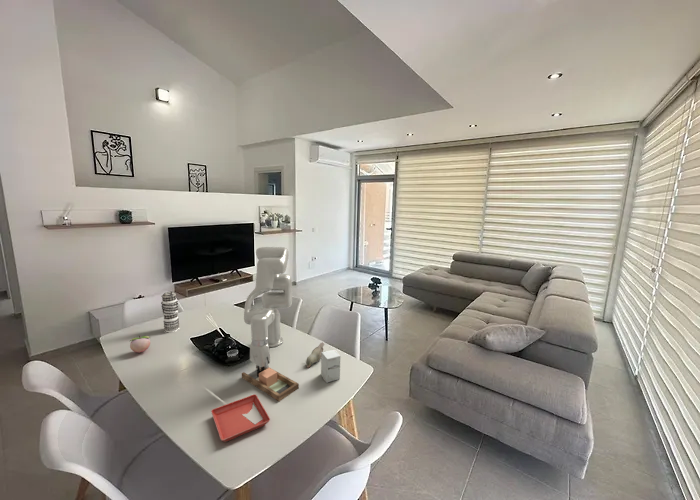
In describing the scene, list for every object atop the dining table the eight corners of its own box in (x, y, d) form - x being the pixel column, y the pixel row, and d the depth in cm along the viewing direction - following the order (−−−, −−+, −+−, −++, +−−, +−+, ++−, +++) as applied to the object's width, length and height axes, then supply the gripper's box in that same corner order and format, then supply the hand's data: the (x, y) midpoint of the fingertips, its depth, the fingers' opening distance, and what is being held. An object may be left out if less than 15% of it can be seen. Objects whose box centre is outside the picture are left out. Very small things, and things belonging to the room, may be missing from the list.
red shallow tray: (271, 426, 115) (271, 419, 114) (221, 448, 104) (221, 440, 104) (255, 400, 129) (255, 393, 128) (211, 417, 119) (210, 409, 118)
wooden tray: (241, 378, 143) (241, 373, 143) (261, 368, 152) (261, 362, 152) (279, 402, 127) (279, 396, 127) (298, 389, 136) (298, 383, 136)
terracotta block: (259, 382, 139) (258, 373, 139) (269, 377, 144) (269, 367, 143) (266, 388, 136) (266, 378, 135) (277, 381, 141) (277, 372, 140)
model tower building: (174, 333, 187) (171, 295, 183) (160, 332, 188) (156, 295, 183) (183, 327, 196) (180, 290, 192) (169, 326, 197) (166, 290, 192)
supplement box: (326, 383, 141) (326, 359, 139) (320, 375, 148) (320, 351, 146) (340, 379, 145) (340, 355, 142) (334, 371, 151) (334, 348, 149)
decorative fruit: (131, 358, 158) (129, 341, 156) (130, 352, 164) (128, 335, 162) (152, 353, 164) (151, 336, 162) (150, 347, 170) (148, 330, 168)
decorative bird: (303, 367, 154) (303, 354, 153) (318, 353, 168) (318, 341, 167) (311, 370, 152) (311, 357, 150) (327, 355, 166) (327, 343, 165)
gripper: (243, 338, 141) (245, 373, 144) (263, 348, 132) (264, 385, 136) (256, 333, 147) (258, 367, 150) (276, 342, 138) (277, 378, 142)
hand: (260, 375), depth 143 cm, fingers closed
